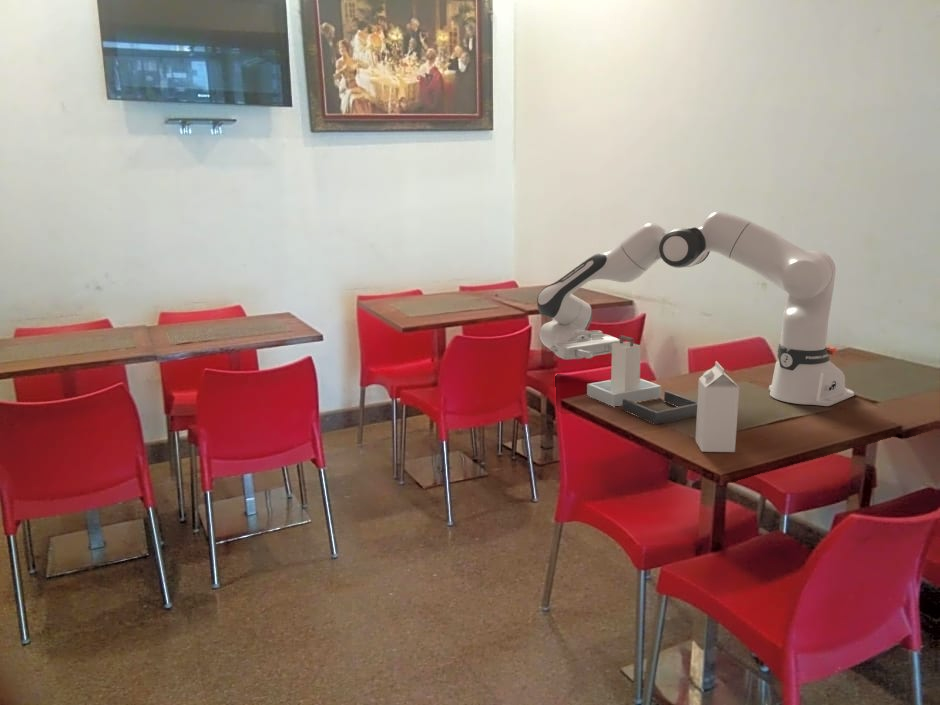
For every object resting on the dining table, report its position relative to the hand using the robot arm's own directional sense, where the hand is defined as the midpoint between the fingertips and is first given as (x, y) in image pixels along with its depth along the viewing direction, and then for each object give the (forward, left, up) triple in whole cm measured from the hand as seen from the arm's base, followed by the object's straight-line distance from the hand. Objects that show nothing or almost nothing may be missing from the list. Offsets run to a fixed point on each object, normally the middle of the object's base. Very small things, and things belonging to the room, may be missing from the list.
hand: (604, 353), depth 204 cm
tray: (0, +9, -11) cm, 14 cm away
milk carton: (+6, +49, -11) cm, 50 cm away
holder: (0, +24, -11) cm, 26 cm away
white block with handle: (0, +9, -10) cm, 13 cm away
